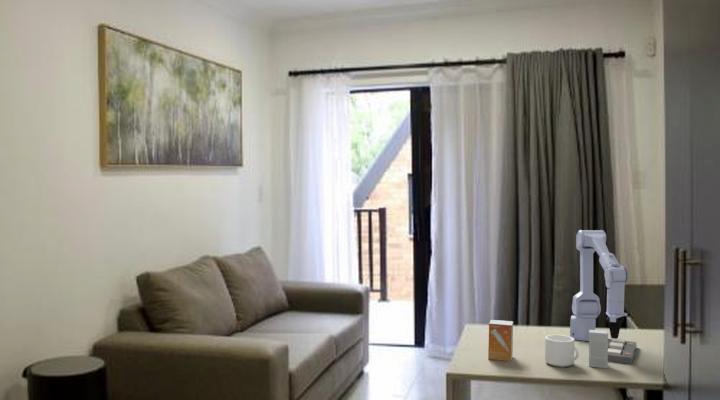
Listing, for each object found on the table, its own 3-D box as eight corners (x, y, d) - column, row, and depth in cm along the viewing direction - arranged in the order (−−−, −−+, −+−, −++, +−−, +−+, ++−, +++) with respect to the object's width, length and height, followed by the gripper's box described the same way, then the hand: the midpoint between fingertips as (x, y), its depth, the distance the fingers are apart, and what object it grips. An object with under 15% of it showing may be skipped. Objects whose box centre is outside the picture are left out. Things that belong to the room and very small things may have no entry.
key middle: (609, 351, 234) (609, 344, 233) (610, 348, 237) (610, 342, 237) (622, 353, 231) (622, 346, 231) (623, 349, 235) (623, 343, 235)
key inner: (611, 346, 240) (611, 340, 240) (612, 343, 244) (612, 337, 243) (623, 348, 238) (624, 341, 238) (625, 345, 242) (625, 339, 241)
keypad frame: (594, 359, 227) (594, 352, 227) (602, 343, 247) (602, 337, 247) (631, 364, 222) (631, 357, 221) (636, 347, 242) (636, 341, 242)
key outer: (606, 358, 227) (607, 351, 227) (608, 354, 231) (608, 348, 231) (620, 359, 225) (620, 353, 225) (621, 356, 229) (621, 349, 229)
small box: (488, 359, 226) (488, 323, 226) (490, 354, 232) (490, 319, 232) (511, 361, 224) (512, 325, 223) (512, 356, 230) (513, 320, 229)
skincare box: (607, 365, 221) (607, 330, 220) (607, 368, 216) (608, 333, 216) (588, 363, 222) (589, 329, 222) (588, 366, 218) (589, 332, 218)
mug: (586, 365, 220) (587, 339, 220) (570, 371, 213) (571, 344, 213) (555, 357, 229) (555, 332, 228) (539, 363, 222) (539, 337, 222)
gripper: (625, 305, 219) (624, 344, 220) (629, 297, 232) (628, 334, 233) (603, 303, 222) (602, 341, 223) (608, 295, 235) (607, 332, 236)
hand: (614, 338), depth 228 cm, fingers closed
